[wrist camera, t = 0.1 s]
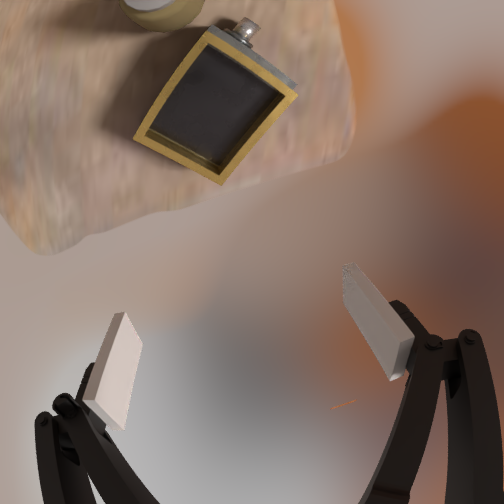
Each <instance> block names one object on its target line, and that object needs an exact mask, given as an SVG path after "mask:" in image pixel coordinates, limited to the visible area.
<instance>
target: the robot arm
mask: <svg viewBox="0 0 504 504" xmlns="http://www.w3.org/2000/svg"><path fill="white" fill-rule="evenodd" d="M343 303H344V305H345V307H346V308H347V310H348V311H349V313H350V315H351V316H352V318H353V319H354V321H355V323H356V324H357V325H358V328H359V329H360V331H361V333H362V334H363V336H364V337H365V339H366V341H367V342H368V344H369V346H370V348H371V349H372V351H373V353H374V354H375V356H376V358H377V359H378V361H379V363H380V365H381V366H382V368H383V370H384V372H385V373H386V375H387V377H388V379H389V380H390V381H392V380H394V379H396V378H399V377H401V376H403V375H404V372H405V369H407V371H408V372H409V377H408V380H407V382H406V385H405V386H406V388H405V391H404V394H403V398H402V401H401V404H400V408H399V411H398V414H397V417H396V420H395V422H394V425H393V428H392V431H391V433H390V436H389V439H388V441H387V444H386V446H385V449H384V451H383V454H382V456H381V458H380V461H379V463H378V465H377V468H376V470H375V472H374V474H373V476H372V479H371V480H370V483H369V485H368V487H367V489H366V491H365V493H364V494H363V496H362V498H361V500H360V502H359V503H358V504H408V502H409V499H410V490H411V487H412V485H413V482H414V480H415V477H416V474H417V472H418V469H419V466H420V463H421V460H422V457H423V454H424V451H425V447H426V444H427V441H428V437H429V433H430V429H431V426H432V422H433V418H434V413H435V409H436V404H437V399H438V394H439V389H440V383H441V380H445V389H446V400H447V415H448V471H447V485H446V496H445V504H504V491H503V451H502V438H501V429H500V420H499V413H498V406H497V400H496V395H495V390H494V384H493V380H492V375H491V372H490V367H489V363H488V359H487V355H486V352H485V348H484V345H483V341H482V338H481V336H480V334H479V333H478V332H477V331H475V330H472V329H465V330H463V331H461V332H460V334H459V336H458V338H455V339H448V340H443V339H442V338H441V337H439V336H437V335H432V334H429V333H428V332H427V330H426V329H425V328H424V326H423V325H422V324H421V323H420V322H419V320H418V319H417V318H416V317H414V314H413V313H412V312H410V310H409V309H408V308H407V306H406V305H405V304H403V303H402V302H400V301H398V300H395V301H392V302H389V303H388V302H387V301H386V299H385V298H384V297H383V296H382V294H381V293H380V292H379V291H378V290H377V288H376V287H375V286H374V285H373V284H372V282H371V281H370V280H369V279H368V278H367V276H366V275H365V274H364V273H363V272H362V271H361V269H360V268H359V267H358V266H357V265H356V264H355V263H350V264H346V265H343ZM142 346H143V344H142V342H141V340H140V338H139V337H138V335H137V333H136V331H135V329H134V327H133V326H132V324H131V322H130V320H129V318H128V316H127V314H126V312H121V313H116V314H115V315H114V317H113V319H112V322H111V324H110V326H109V329H108V331H107V333H106V336H105V338H104V341H103V344H102V346H101V348H100V351H99V354H98V356H97V359H96V362H95V363H91V364H90V365H89V366H88V368H87V369H86V371H85V374H84V376H83V377H84V378H83V379H82V381H81V384H80V387H79V390H78V392H77V395H76V398H75V400H74V399H73V397H72V396H71V395H70V394H68V393H62V394H60V395H58V396H57V397H56V398H55V400H54V401H53V405H52V408H53V410H54V411H55V412H56V413H57V414H58V415H57V416H52V415H51V414H50V413H49V412H45V411H44V412H41V413H40V414H39V415H38V416H37V417H36V419H35V443H36V454H37V463H38V471H39V479H40V485H41V491H42V496H43V501H44V504H96V500H95V497H94V494H93V492H92V488H91V484H90V481H89V477H90V479H91V480H92V482H93V484H94V486H95V487H96V489H97V491H98V492H99V494H100V496H101V497H102V499H103V501H104V502H105V503H106V504H160V503H159V502H158V501H157V500H156V499H155V498H154V497H153V495H152V494H151V493H150V492H149V490H148V489H147V488H146V487H145V485H144V484H143V483H142V482H141V480H140V479H139V478H138V476H137V475H136V474H135V472H134V471H133V470H132V468H131V467H130V466H129V464H128V463H127V461H126V460H125V458H124V457H123V456H122V454H121V453H120V451H119V449H118V448H117V447H116V445H115V443H114V442H113V440H112V439H111V437H110V435H109V434H108V433H107V431H106V430H105V427H106V425H107V426H108V427H109V428H110V429H112V430H124V429H125V423H126V418H127V413H128V408H129V403H130V398H131V393H132V388H133V383H134V379H135V375H136V370H137V366H138V362H139V358H140V354H141V349H142ZM87 473H88V474H87ZM88 475H89V477H88Z"/></svg>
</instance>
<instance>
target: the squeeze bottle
mask: <svg viewBox="0 0 504 504" xmlns="http://www.w3.org/2000/svg"><path fill="white" fill-rule="evenodd" d="M204 1H205V0H119V5H120V7H121V9H122V10H123V11H124V13H125V14H126V16H128V17H129V18H130V19H132V20H133V21H134V22H136V23H137V24H138V25H140V26H141V27H143V28H145V29H147V30H149V31H154V32H162V33H164V32H169V31H174V30H178V29H180V28H182V27H184V26H185V25H187V24H189V23H191V22H192V21H193V20H194V18H195V17H196V16H197V15H198V14H199V13H200V11H201V9H202V6H203V4H204Z"/></svg>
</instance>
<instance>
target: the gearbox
mask: <svg viewBox="0 0 504 504" xmlns="http://www.w3.org/2000/svg"><path fill="white" fill-rule="evenodd" d="M260 29H261V28H260V27H259V26H258V25H257V24H256V23H254V22H253V21H251V20H250V19H248V18H245V17H244V18H243V19H242V20H241V21H240V22H239V23H238V24H237V25H236V27H235V28H234V29H233V30H232V31H231V30H229V29H227V28H225V29H224V30H223V31H222V30H221V29H219V28H217V27H216V26H214V25H211V26H210V27H209V28H208V30H206V32H205V33H204V34H203V35H202V36H201V38H200V39H199V40H198V41H197V43H196V44H195V45H194V46H193V48H192V49H191V50H190V52H189V53H188V54H187V56H186V57H185V58H184V60H183V61H182V62H181V64H180V65H179V66H178V68H177V69H176V70H175V72H174V73H173V75H172V76H171V78H170V79H169V81H168V82H167V83H166V85H165V86H164V88H163V89H162V91H161V92H160V94H159V96H158V97H157V99H156V100H155V102H154V103H153V105H152V107H151V108H150V110H149V111H148V113H147V115H146V116H145V118H144V120H143V122H142V123H141V125H140V127H139V128H138V130H137V132H136V134H135V136H134V137H133V140H135V141H137V142H139V143H141V144H143V145H145V146H147V147H149V148H151V149H153V150H155V151H157V152H159V153H161V154H163V155H165V156H166V157H168V158H170V159H172V160H174V161H176V162H178V163H180V164H182V165H184V166H186V167H187V168H189V169H191V170H193V171H195V172H197V173H199V174H201V175H202V176H204V177H206V178H208V179H210V180H212V181H214V182H215V183H217V184H219V185H221V186H222V184H223V183H224V182H225V181H226V179H227V178H228V177H229V176H230V174H231V173H232V172H233V171H234V169H235V168H236V167H237V166H238V164H239V163H240V162H241V161H242V160H243V158H244V157H245V156H246V155H247V154H248V152H249V151H250V150H251V149H252V148H253V146H254V145H255V144H256V143H257V142H258V140H259V139H260V138H261V137H262V136H263V135H264V133H265V132H266V131H267V130H268V129H269V128H270V126H271V125H272V124H273V123H274V122H275V121H276V120H277V118H278V117H279V116H280V115H281V114H282V113H283V112H284V111H285V109H286V108H287V107H288V106H289V105H290V104H291V103H292V102H293V101H294V99H295V98H296V97H297V96H298V94H297V93H295V92H294V91H293V89H294V88H295V87H296V85H297V84H296V83H295V82H294V81H292V80H291V79H290V78H289V77H287V76H286V75H285V74H284V73H282V72H281V71H280V70H278V69H277V68H276V67H275V66H273V65H272V64H271V63H269V62H268V61H267V60H265V59H264V58H262V57H261V56H260V55H258V54H257V53H255V52H254V51H253V50H251V48H252V47H253V45H252V44H250V43H249V41H250V39H251V38H252V37H253V36H254V35H255V34H256V33H257V32H258V31H259V30H260Z"/></svg>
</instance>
